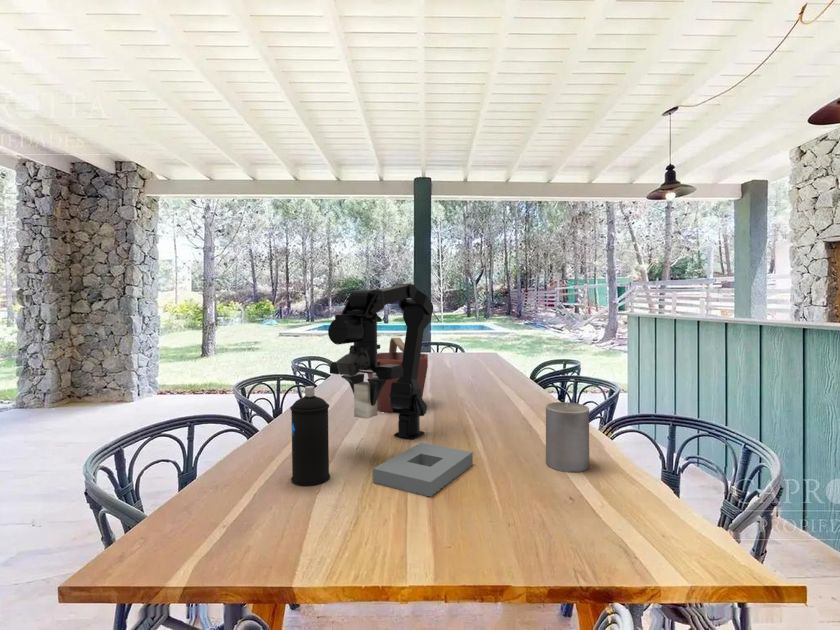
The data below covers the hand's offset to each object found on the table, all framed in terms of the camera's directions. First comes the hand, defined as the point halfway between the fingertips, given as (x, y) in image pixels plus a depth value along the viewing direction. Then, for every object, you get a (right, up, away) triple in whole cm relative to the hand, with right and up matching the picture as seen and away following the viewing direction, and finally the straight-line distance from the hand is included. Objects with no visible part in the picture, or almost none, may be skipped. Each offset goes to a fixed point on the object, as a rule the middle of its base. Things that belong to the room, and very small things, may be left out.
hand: (365, 404), depth 111 cm
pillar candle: (+48, -13, -6) cm, 50 cm away
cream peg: (0, -3, 0) cm, 3 cm away
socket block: (+14, -13, -10) cm, 22 cm away
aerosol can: (-10, -14, -13) cm, 22 cm away
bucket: (+5, -11, +50) cm, 51 cm away
